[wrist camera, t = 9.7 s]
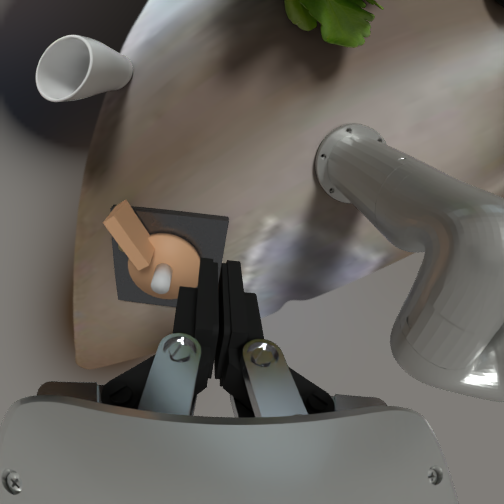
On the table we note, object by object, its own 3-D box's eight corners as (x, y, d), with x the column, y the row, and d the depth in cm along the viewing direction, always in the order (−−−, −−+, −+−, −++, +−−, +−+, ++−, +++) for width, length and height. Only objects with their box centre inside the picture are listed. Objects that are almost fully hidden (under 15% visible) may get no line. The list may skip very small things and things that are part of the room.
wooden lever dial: (154, 182, 36) (144, 197, 31) (215, 279, 46) (215, 301, 41) (92, 220, 38) (78, 238, 33) (156, 303, 47) (152, 325, 43)
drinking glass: (109, 105, 31) (53, 117, 18) (87, 72, 27) (25, 71, 15) (148, 74, 29) (106, 66, 17) (124, 41, 26) (74, 20, 13)
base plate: (228, 216, 42) (229, 234, 37) (214, 305, 51) (214, 326, 47) (113, 204, 39) (101, 220, 34) (120, 294, 48) (112, 314, 43)
